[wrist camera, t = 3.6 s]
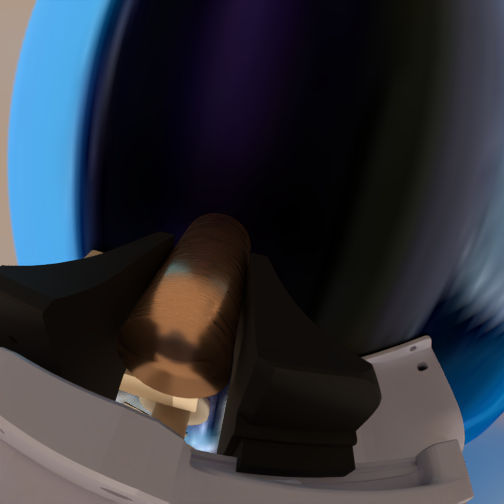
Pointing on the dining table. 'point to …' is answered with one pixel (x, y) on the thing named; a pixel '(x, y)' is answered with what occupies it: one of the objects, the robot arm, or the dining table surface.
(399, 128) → the dining table surface
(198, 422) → the bobbin
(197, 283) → the copper peg
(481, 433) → the dining table surface
